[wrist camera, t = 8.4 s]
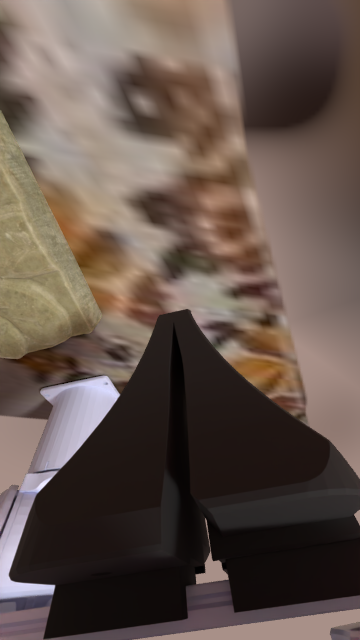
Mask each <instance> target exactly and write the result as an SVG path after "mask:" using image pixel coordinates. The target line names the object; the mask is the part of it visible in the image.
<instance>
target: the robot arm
mask: <svg viewBox="0 0 360 640" xmlns="http://www.w3.org/2000/svg"><path fill="white" fill-rule="evenodd" d="M40 393H41V394H42V395H43V396H44V397H45V398H46V399H47V400H48V401H49V402H50V403H51V404H52V405H53V408H52V411H51V414H50V416H49V419H48V421H47V424H46V426H45V429H44V432H43V434H42V437H41V439H40V442H39V444H38V447H37V450H36V452H35V455H34V457H33V460H32V462H31V465H30V468H29V470H28V473H27V474H26V475H25V478H24V480H23V483H22V485H21V488H20V490H17V489H18V487H19V486H18V485H11V486H10V488H9V489H7V490H6V491H4V492H3V493H2V494H1V495H0V640H132V639H140V638H147V637H154V636H162V635H169V634H176V633H184V632H191V631H198V630H205V629H213V628H220V627H228V626H234V625H242V624H250V623H257V622H264V621H272V620H279V619H286V618H294V617H301V616H308V615H316V614H323V613H330V612H338V611H345V610H353V609H360V525H359V523H358V521H357V520H356V518H355V516H354V514H355V513H356V512H357V511H358V510H360V479H359V478H358V476H357V475H356V473H355V472H354V471H353V469H352V468H351V467H350V465H349V464H348V462H347V461H346V460H345V458H344V457H343V456H342V455H341V453H340V452H339V451H338V450H337V449H336V447H335V446H334V445H333V444H332V443H331V442H330V441H329V440H328V439H327V438H325V437H323V436H322V435H321V434H319V433H317V432H316V431H314V430H313V429H311V428H310V427H308V426H307V425H305V424H304V423H303V422H301V421H300V420H298V419H297V418H295V417H294V416H292V415H291V414H290V413H288V412H287V411H285V410H284V409H283V408H281V407H280V406H279V405H277V404H276V403H274V402H273V401H272V400H271V399H269V398H268V397H267V396H266V395H264V394H263V393H262V392H261V391H259V390H258V389H257V388H256V387H254V386H253V385H252V384H251V383H250V382H248V381H247V380H246V379H245V378H244V377H243V376H242V375H241V374H239V373H238V372H237V371H236V370H235V369H234V368H233V367H232V366H231V365H230V364H229V363H228V362H227V361H226V360H225V359H224V358H223V357H222V356H221V355H220V353H219V352H218V351H217V350H216V349H215V348H214V347H213V345H212V344H211V343H210V342H209V340H208V339H207V338H206V337H205V335H204V334H203V333H202V331H201V330H200V328H199V327H198V325H197V324H196V322H195V320H194V318H193V316H192V314H191V311H190V310H188V309H185V310H181V311H176V312H172V313H167V314H163V315H159V317H158V319H157V322H156V325H155V328H154V330H153V333H152V335H151V338H150V340H149V343H148V345H147V347H146V349H145V352H144V354H143V356H142V358H141V360H140V362H139V364H138V366H137V367H136V369H135V371H134V373H133V375H132V377H131V378H130V380H129V382H128V383H127V385H126V386H125V388H124V390H123V391H122V393H121V394H119V393H118V391H117V390H116V388H115V387H114V385H113V384H112V382H111V381H110V379H109V378H108V377H107V376H99V377H94V378H89V379H84V380H79V381H75V382H70V383H65V384H60V385H55V386H51V387H46V388H42V389H41V391H40ZM205 518H206V520H207V525H208V532H209V540H210V546H209V540H208V535H207V528H206V523H205ZM210 547H211V554H212V560H213V561H217V560H219V561H220V562H221V563H222V568H223V570H224V571H225V572H226V573H227V574H228V578H229V580H223V581H216V582H209V583H203V584H196V576H195V574H201V573H205V564H204V563H205V562H206V560H207V558H208V556H209V553H210ZM29 596H30V597H29ZM18 597H19V598H18ZM330 635H331V638H332V640H360V622H357V623H352V624H348V625H343V626H338V627H334V628H331V631H330Z"/></svg>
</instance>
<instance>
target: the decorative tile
mask: <svg viewBox="0 0 360 640" xmlns="http://www.w3.org/2000/svg"><path fill="white" fill-rule="evenodd" d="M100 318H102V314H101V311H100V309H99V307H98V305H97V303H96V301H95V299H94V297H93V295H92V292H91V290H90V288H89V286H88V284H87V282H86V280H85V278H84V276H83V274H82V272H81V270H80V268H79V266H78V264H77V262H76V259H75V257H74V255H73V253H72V251H71V249H70V247H69V245H68V243H67V241H66V239H65V237H64V235H63V233H62V231H61V229H60V227H59V225H58V223H57V221H56V219H55V217H54V215H53V213H52V211H51V209H50V207H49V205H48V203H47V201H46V199H45V197H44V195H43V193H42V191H41V189H40V187H39V185H38V183H37V181H36V179H35V177H34V175H33V173H32V171H31V169H30V167H29V165H28V163H27V161H26V159H25V157H24V155H23V153H22V151H21V149H20V147H19V145H18V143H17V141H16V139H15V137H14V135H13V133H12V132H11V130H10V128H9V126H8V124H7V122H6V120H5V118H4V116H3V114H2V112H1V110H0V357H1V358H10V359H19V358H21V357H23V356H24V355H25V354H27V353H29V352H34V351H37V350H41V349H46V348H50V347H53V346H55V345H57V344H60V343H62V342H64V341H66V340H67V339H68V338H70V337H72V336H76V335H80V334H88V333H91V332H92V331H93V329H94V328H95V327H96V325H97V324H98V323H99V321H100Z"/></svg>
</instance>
